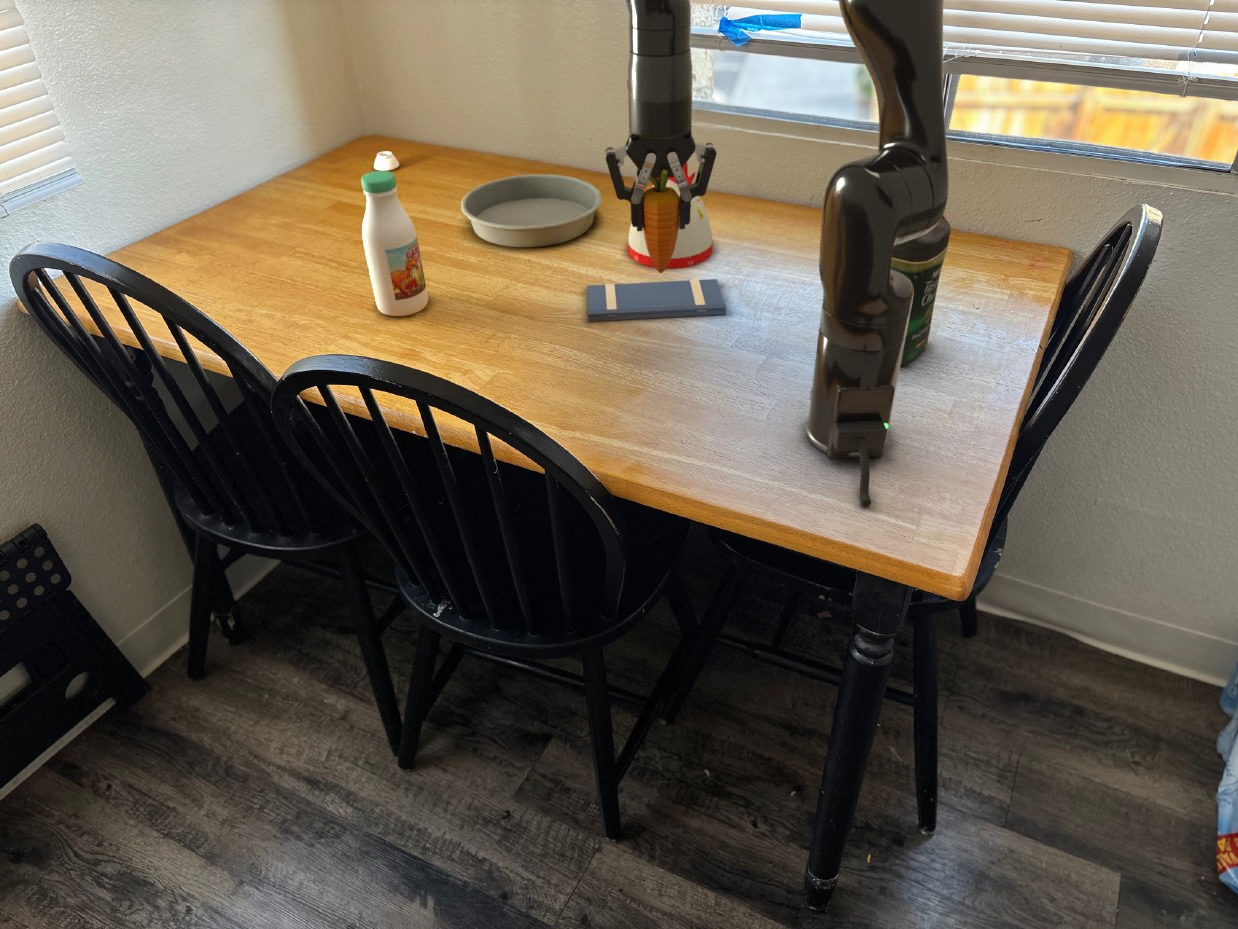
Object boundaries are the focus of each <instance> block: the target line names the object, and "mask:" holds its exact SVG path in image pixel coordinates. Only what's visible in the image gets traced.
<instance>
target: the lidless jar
mask: <svg viewBox="0 0 1238 929" xmlns="http://www.w3.org/2000/svg"><path fill="white" fill-rule="evenodd" d="M399 167H400V162H399V160H398V159H397V157H395V155H394V154H393V152H392V151H390V150H389V151H388V150H385V151H380V152H377V153H376V157H375V159H374V164H373V169H375V170H376V171H388V172H391V171H393V170H396V169H397V168H399Z"/></svg>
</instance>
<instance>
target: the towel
mask: <svg viewBox="0 0 1238 929" xmlns="http://www.w3.org/2000/svg"><path fill="white" fill-rule="evenodd" d="M720 288H721V287H720V284H719V281H718V279H717V278H710V279H708V278H707V279H699V278H696V279H695V278H694V279H688V280H671V281H669V280H667V281H651V282H633V283H631V282H629V283H605V284H593V285H587V286H586V292H587V317H588V318H587V319H588V322H608V321H626V320H645V319H648V320H649V319H664V318H667V319H668V318H683V317H685V318H686V317H703V316H725V315H726V314H727V305H726V303H725V302H724V298H723V295H722V292H721V289H720Z"/></svg>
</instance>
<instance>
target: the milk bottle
mask: <svg viewBox="0 0 1238 929" xmlns="http://www.w3.org/2000/svg"><path fill="white" fill-rule="evenodd" d="M360 182H361V186H362V190H363V195H365V197H366V204H365V205H366V206H365V211H364V212H365V213H364V216H363V220H362V225H361V226H362V227H361V234H362V243H363V249H364V254H365V260H366V263H367V268H368V274H369V278H370V282H371V287H372V291H373V296H374V300H375V304H376V307H377V309H378V311H379V312H380V313H382V314H383V315H385V316H390V317H403V316H405V317H406V316H410V315H413V314H417V313H418V312H420V311H422V310H423V309H425V308H426V307H427V305H428V302H429V297H428V290H427V283H426V279H425V274H424V273H425V272H424V267H423V262H422V257H421V256H422V255H421V250H420V246H419V241H418V236H417V232H416V229H415V226H414V223H413V220H412V218H411V217H410V216H409V214H408V212H407V211H406V210H405V208H404V206H403V205H402V203H401V201H400V199H399V198H398V194H397V191H398V187H397V182H396V176H395V174H394V173H393V172H391V171H380V170H375V171H370V172H368V173H365V174H363V175H362V177H361V179H360Z"/></svg>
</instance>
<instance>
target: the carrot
mask: <svg viewBox="0 0 1238 929" xmlns="http://www.w3.org/2000/svg"><path fill="white" fill-rule="evenodd" d="M667 173H668V172H667V170H665V169H664V170H663V171H662V172H661V176H660V177H657V178H652V176H651V175H650V177H649V180H648V181H650V183H651V182H652V183H653V184H654V187H652V186H650V187H651V188H650V187H649V188H648V189H645V190H644V192H643V195H642V198H641V200H642V220H643V232H644V237H645V242H646V246H647V250H648V253H649V255H650V258H651V260H652V262H653V264H654V266H655V267H654V268H655V270H656V271H657V272H658V273H659V274H662V273H663V272H664V271H665V270H666V269H667V268H666V267H667V266H668V264H669V262H670V260H671V257H672V255H673V252H674V249H675V245H676V240H677V235H678V228H679V210H680V199H679V195H678V194H677V192H676V191H675V190H674V189H673V188H671V187H666V184H667V181H668V178H667ZM658 179H659V181H658ZM652 183H651V184H652Z"/></svg>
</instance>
